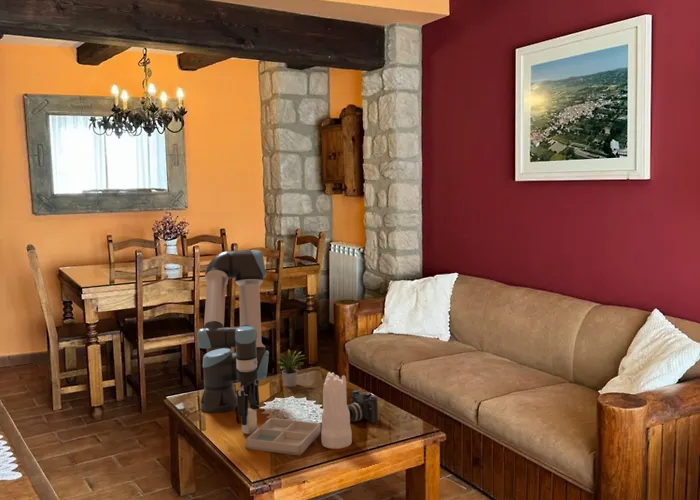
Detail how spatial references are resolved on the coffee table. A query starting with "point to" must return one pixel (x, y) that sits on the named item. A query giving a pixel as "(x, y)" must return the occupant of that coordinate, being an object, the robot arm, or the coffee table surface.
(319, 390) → the coffee table surface
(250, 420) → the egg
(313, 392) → the coffee table surface
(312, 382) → the coffee table surface
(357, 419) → the camera
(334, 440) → the decorative vase
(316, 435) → the divided tray
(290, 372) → the house plant
